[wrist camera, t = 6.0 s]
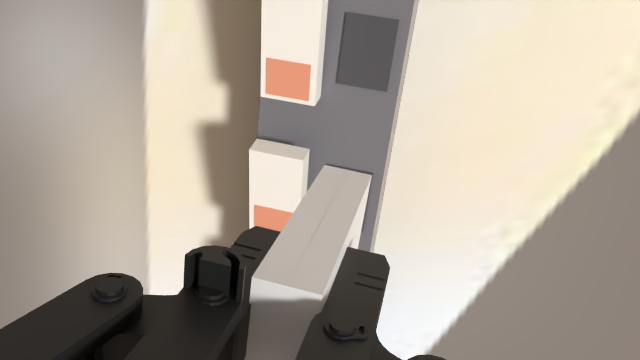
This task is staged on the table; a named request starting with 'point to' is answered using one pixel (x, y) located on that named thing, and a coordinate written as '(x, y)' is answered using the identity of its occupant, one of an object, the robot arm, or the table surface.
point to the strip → (352, 98)
